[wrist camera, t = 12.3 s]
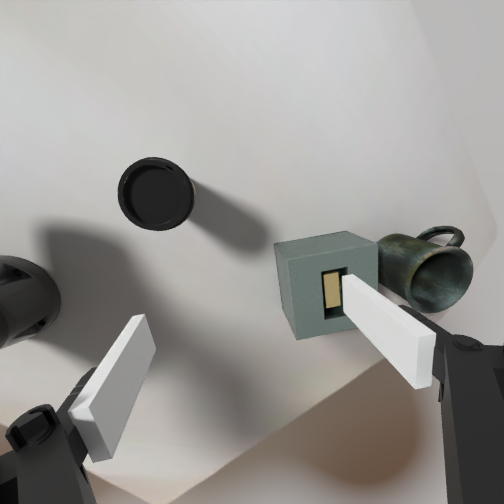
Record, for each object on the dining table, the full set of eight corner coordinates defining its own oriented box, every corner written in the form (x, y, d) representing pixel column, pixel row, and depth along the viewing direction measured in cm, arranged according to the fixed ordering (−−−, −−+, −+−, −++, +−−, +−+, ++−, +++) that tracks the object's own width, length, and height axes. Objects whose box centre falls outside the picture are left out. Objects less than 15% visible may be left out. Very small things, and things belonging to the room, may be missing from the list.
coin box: (282, 309, 49) (296, 340, 39) (274, 243, 45) (287, 260, 35) (348, 296, 50) (377, 323, 40) (345, 230, 45) (378, 243, 36)
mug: (352, 266, 48) (392, 293, 36) (401, 205, 45) (460, 213, 34) (389, 292, 50) (437, 325, 39) (437, 235, 48) (503, 252, 36)
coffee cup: (212, 185, 41) (206, 187, 26) (186, 225, 42) (166, 248, 28) (168, 153, 38) (135, 136, 24) (142, 197, 40) (95, 206, 26)
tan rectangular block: (310, 287, 47) (326, 308, 39) (306, 259, 45) (323, 275, 38) (321, 285, 47) (340, 305, 40) (319, 257, 45) (338, 272, 38)
